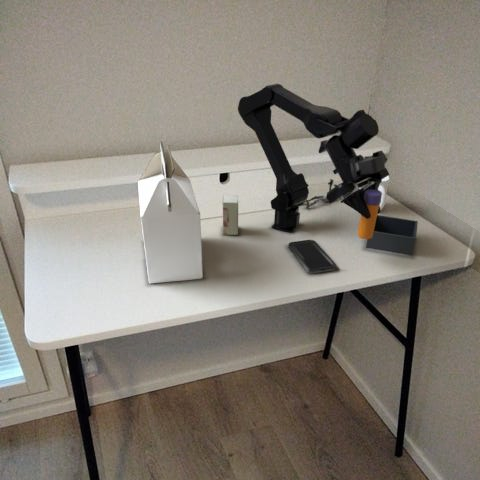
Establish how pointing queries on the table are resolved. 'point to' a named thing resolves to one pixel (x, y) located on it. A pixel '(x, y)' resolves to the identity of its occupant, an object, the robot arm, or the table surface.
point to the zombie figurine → (319, 197)
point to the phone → (311, 256)
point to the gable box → (169, 221)
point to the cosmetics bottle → (230, 214)
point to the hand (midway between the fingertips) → (374, 215)
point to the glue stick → (372, 203)
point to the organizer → (393, 235)
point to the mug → (383, 191)
